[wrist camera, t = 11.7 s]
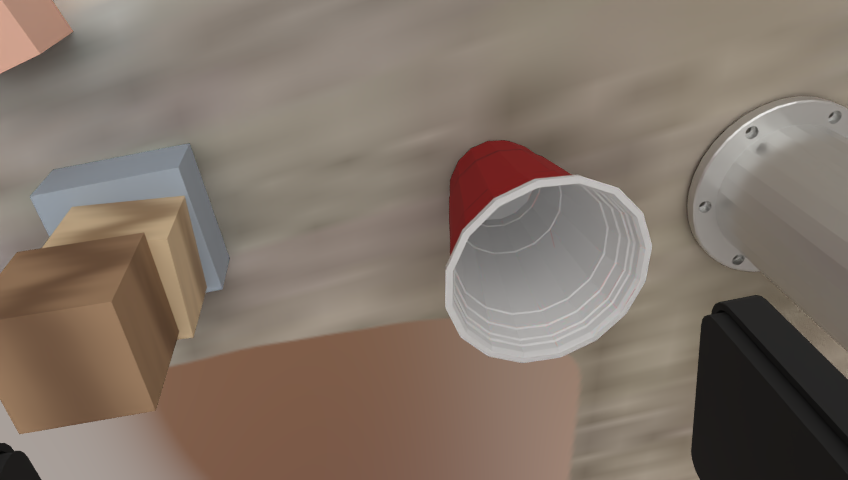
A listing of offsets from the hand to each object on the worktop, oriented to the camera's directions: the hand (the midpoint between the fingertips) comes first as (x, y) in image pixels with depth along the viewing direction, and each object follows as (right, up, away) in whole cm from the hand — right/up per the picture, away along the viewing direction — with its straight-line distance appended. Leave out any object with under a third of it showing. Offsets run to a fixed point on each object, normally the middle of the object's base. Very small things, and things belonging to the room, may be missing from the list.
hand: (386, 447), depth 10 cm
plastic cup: (+5, +7, +35) cm, 36 cm away
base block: (-17, +4, +33) cm, 37 cm away
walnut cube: (-16, 0, +25) cm, 29 cm away
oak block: (-15, +2, +29) cm, 33 cm away
